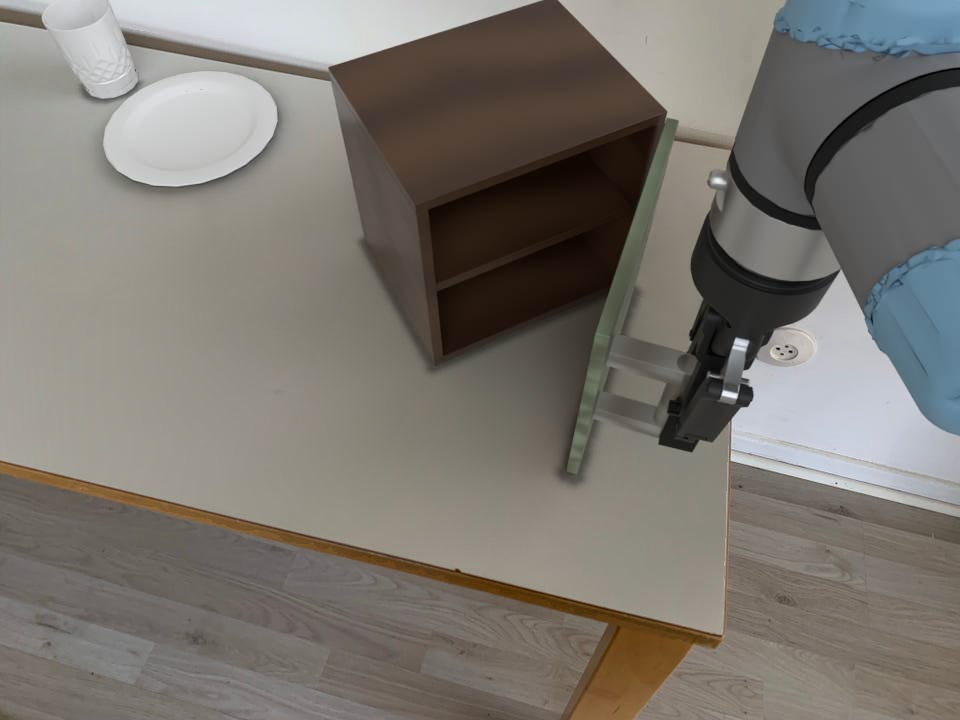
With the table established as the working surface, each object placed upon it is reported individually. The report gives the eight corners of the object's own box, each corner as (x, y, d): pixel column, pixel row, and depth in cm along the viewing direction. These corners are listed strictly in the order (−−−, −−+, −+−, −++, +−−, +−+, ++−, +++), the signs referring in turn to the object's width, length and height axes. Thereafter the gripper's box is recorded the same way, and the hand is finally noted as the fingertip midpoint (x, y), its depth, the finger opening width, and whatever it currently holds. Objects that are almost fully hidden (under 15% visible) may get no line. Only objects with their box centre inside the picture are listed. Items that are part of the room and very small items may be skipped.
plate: (243, 207, 83) (238, 196, 82) (76, 182, 86) (69, 171, 84) (303, 91, 94) (301, 79, 93) (154, 72, 97) (149, 60, 95)
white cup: (89, 110, 93) (49, 38, 84) (74, 76, 96) (34, 4, 88) (150, 89, 95) (117, 17, 86) (134, 57, 98) (100, -15, 90)
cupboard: (625, 284, 77) (668, 111, 58) (434, 366, 71) (415, 204, 53) (540, 176, 85) (554, -4, 67) (365, 242, 80) (327, 66, 62)
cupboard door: (695, 306, 75) (761, 137, 56) (647, 497, 64) (711, 365, 45) (624, 287, 76) (666, 117, 58) (565, 471, 65) (595, 333, 47)
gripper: (718, 128, 43) (645, 345, 63) (689, 329, 36) (616, 504, 56) (850, 151, 42) (733, 364, 62) (848, 363, 35) (715, 529, 55)
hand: (677, 430), depth 59 cm, fingers closed on cupboard door, 2 cm apart
